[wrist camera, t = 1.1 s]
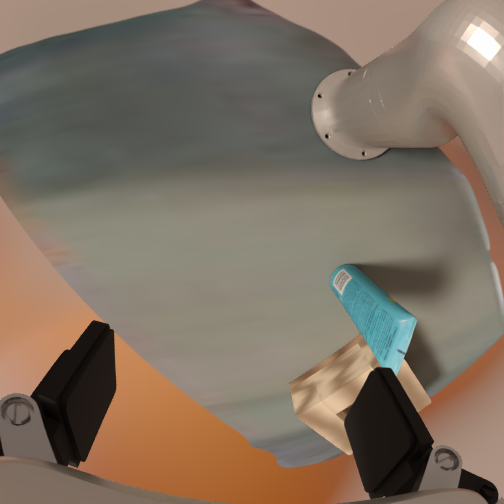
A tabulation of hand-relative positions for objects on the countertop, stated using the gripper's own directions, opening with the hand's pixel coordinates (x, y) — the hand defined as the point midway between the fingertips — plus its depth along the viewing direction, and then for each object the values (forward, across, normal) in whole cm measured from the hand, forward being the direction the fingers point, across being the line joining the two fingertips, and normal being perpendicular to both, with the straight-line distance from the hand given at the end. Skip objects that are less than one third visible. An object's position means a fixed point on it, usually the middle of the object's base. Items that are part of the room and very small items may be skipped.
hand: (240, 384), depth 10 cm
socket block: (+32, -26, +25) cm, 49 cm away
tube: (+32, -17, +6) cm, 37 cm away
